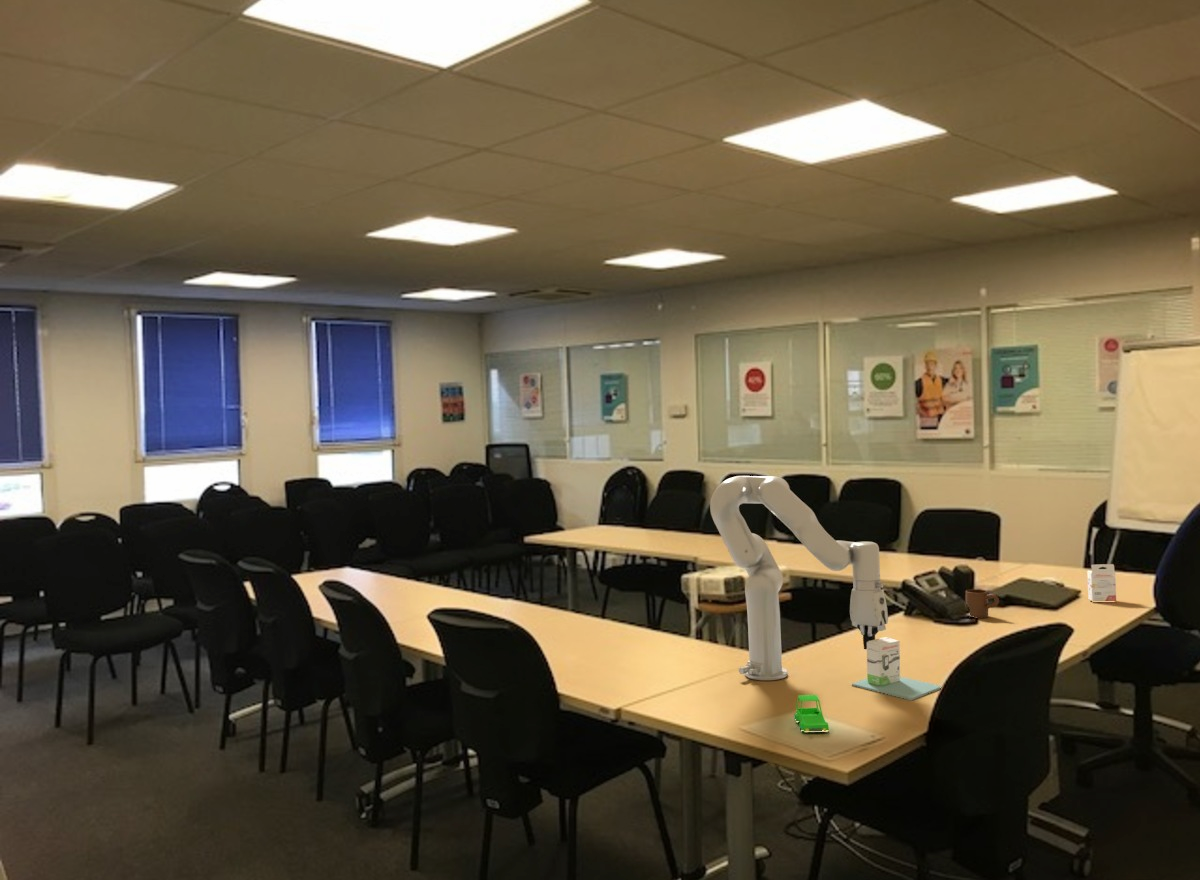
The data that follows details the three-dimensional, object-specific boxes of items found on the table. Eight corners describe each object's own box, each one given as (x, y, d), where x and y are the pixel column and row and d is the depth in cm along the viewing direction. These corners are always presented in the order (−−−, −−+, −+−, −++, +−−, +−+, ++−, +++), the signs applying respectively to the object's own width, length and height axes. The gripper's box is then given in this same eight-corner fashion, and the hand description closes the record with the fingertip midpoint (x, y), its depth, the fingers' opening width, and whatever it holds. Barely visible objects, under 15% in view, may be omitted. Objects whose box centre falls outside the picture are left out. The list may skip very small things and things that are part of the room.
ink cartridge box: (1111, 600, 354) (1110, 562, 354) (1116, 602, 349) (1115, 564, 349) (1087, 600, 356) (1086, 562, 355) (1092, 603, 351) (1091, 564, 350)
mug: (1004, 618, 333) (1003, 592, 333) (993, 621, 328) (993, 595, 328) (972, 613, 342) (971, 588, 342) (962, 617, 338) (961, 591, 337)
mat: (911, 700, 246) (911, 698, 246) (851, 685, 261) (851, 683, 261) (942, 688, 255) (942, 686, 255) (883, 674, 270) (883, 672, 270)
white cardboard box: (880, 686, 257) (879, 645, 257) (866, 682, 261) (865, 641, 261) (901, 680, 262) (900, 639, 261) (887, 676, 266) (886, 636, 265)
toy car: (794, 720, 235) (793, 694, 235) (820, 719, 235) (819, 693, 235) (802, 735, 224) (801, 708, 224) (830, 735, 224) (829, 708, 224)
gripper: (897, 586, 261) (899, 650, 261) (853, 580, 273) (855, 642, 273) (881, 590, 256) (884, 655, 257) (837, 584, 268) (839, 647, 268)
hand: (869, 648), depth 265 cm, fingers closed
